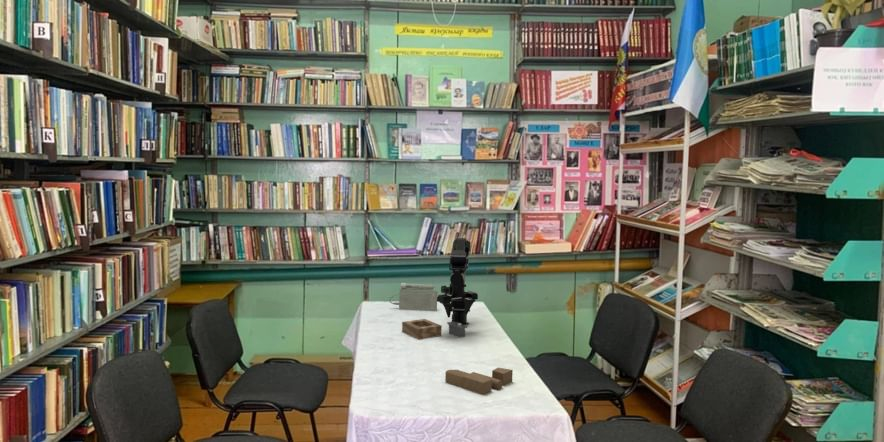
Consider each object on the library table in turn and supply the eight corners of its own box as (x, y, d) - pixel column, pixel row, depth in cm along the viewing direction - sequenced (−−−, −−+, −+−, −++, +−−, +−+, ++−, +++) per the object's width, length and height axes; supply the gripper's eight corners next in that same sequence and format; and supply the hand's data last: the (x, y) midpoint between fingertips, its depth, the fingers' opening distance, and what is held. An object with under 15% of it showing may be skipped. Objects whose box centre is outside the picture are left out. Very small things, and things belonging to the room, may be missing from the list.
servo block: (454, 331, 276) (454, 319, 276) (467, 337, 268) (467, 324, 267) (446, 332, 274) (447, 320, 274) (459, 338, 266) (459, 325, 265)
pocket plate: (424, 328, 280) (424, 318, 280) (441, 335, 269) (441, 325, 268) (402, 331, 274) (402, 321, 273) (418, 339, 262) (418, 329, 262)
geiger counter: (438, 283, 317) (390, 281, 320) (436, 285, 311) (388, 283, 313) (437, 309, 318) (390, 307, 321) (436, 312, 312) (388, 310, 314)
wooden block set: (486, 380, 199) (444, 367, 210) (485, 397, 199) (444, 383, 211) (515, 368, 212) (474, 356, 223) (514, 383, 212) (474, 371, 224)
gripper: (464, 276, 281) (463, 310, 282) (430, 280, 270) (429, 314, 272) (479, 281, 272) (478, 315, 273) (444, 284, 261) (443, 320, 263)
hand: (457, 316), depth 270 cm, fingers open, 9 cm apart
